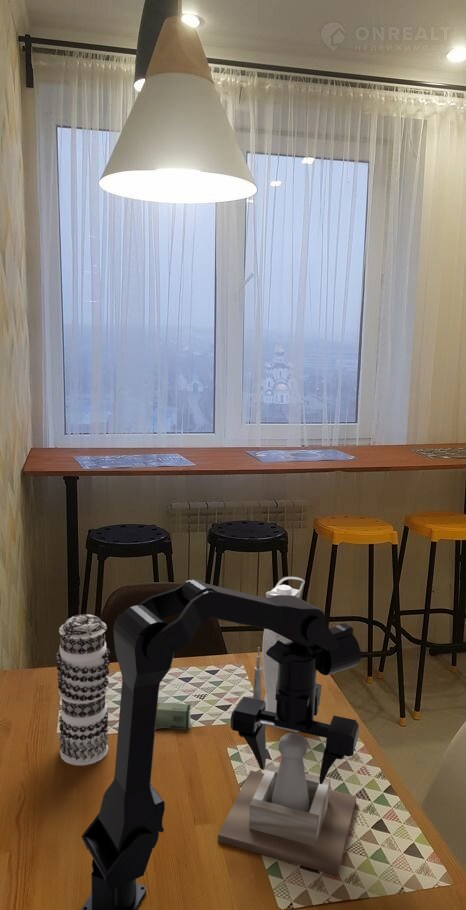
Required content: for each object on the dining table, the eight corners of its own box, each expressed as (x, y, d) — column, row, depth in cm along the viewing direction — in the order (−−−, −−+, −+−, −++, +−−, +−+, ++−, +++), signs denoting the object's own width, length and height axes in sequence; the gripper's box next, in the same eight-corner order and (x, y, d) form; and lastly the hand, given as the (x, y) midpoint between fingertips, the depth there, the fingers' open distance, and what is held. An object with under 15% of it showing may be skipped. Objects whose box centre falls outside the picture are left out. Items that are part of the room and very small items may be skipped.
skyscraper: (289, 698, 141) (295, 570, 135) (305, 719, 133) (312, 584, 128) (251, 704, 138) (255, 573, 133) (264, 726, 130) (270, 588, 125)
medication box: (191, 723, 131) (191, 703, 131) (189, 730, 129) (189, 711, 128) (130, 718, 132) (130, 699, 132) (126, 726, 130) (126, 706, 129)
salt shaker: (306, 831, 102) (310, 752, 99) (268, 824, 103) (271, 747, 100) (310, 804, 107) (314, 730, 105) (274, 799, 108) (277, 725, 106)
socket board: (337, 875, 95) (340, 843, 94) (217, 841, 101) (218, 810, 100) (356, 802, 110) (358, 774, 109) (250, 776, 116) (251, 749, 115)
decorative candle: (85, 729, 128) (83, 604, 123) (121, 747, 123) (120, 617, 118) (46, 753, 120) (43, 621, 116) (83, 773, 115) (81, 636, 111)
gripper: (367, 668, 106) (361, 758, 108) (253, 647, 111) (250, 733, 114) (355, 704, 95) (349, 803, 98) (230, 679, 101) (227, 773, 104)
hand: (291, 775), depth 104 cm, fingers open, 9 cm apart
